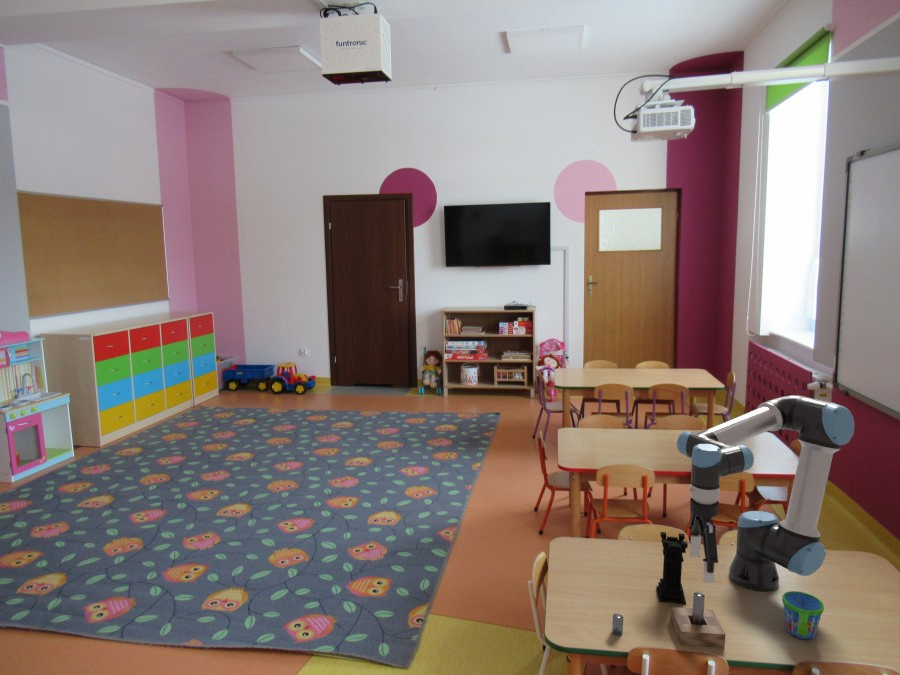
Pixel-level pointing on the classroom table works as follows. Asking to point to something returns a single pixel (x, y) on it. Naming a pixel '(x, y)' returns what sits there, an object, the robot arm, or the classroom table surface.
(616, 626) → the short pin
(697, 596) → the long pin
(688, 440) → the robot arm
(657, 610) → the classroom table surface
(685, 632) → the hole block
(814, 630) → the snack cup
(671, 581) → the chess piece
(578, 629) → the classroom table surface
